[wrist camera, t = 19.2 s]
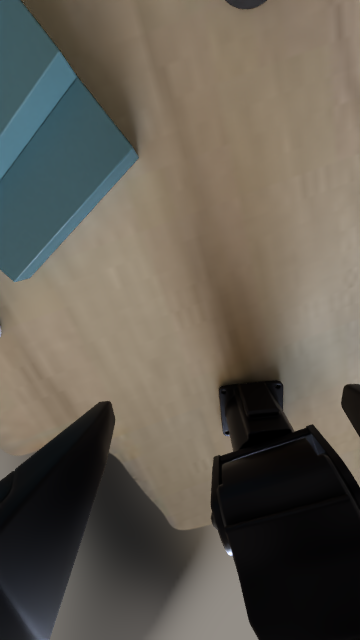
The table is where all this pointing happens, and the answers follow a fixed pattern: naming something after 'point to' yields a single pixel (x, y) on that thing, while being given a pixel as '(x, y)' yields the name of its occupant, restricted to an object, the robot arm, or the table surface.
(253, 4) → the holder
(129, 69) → the table surface
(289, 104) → the table surface
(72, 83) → the step shelf
